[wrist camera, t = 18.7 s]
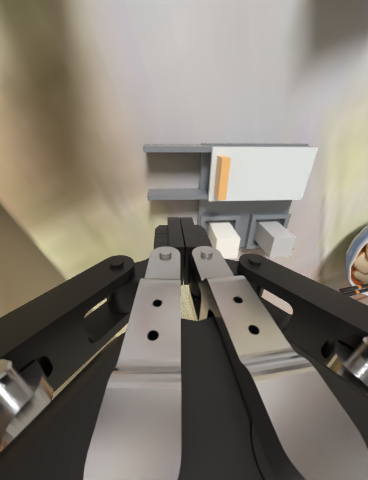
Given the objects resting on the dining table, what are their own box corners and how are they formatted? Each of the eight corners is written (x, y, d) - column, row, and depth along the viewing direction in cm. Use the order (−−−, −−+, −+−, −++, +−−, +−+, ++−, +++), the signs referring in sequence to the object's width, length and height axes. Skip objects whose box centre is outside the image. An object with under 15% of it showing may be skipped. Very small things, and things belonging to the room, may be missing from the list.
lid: (207, 199, 33) (212, 207, 30) (211, 146, 29) (217, 148, 26) (298, 198, 35) (312, 205, 32) (314, 147, 31) (331, 149, 27)
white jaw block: (207, 239, 40) (215, 259, 34) (208, 221, 38) (217, 239, 32) (226, 238, 41) (237, 258, 35) (228, 221, 39) (240, 238, 33)
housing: (153, 246, 42) (151, 271, 35) (145, 142, 32) (139, 147, 25) (275, 242, 44) (297, 264, 37) (302, 143, 34) (340, 148, 27)
